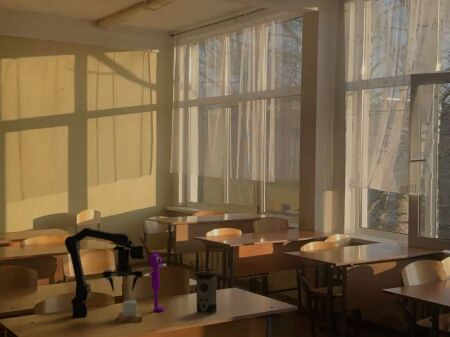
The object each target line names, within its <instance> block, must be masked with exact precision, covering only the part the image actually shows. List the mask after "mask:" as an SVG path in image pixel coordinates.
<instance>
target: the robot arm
mask: <svg viewBox="0 0 450 337" xmlns="http://www.w3.org/2000/svg"><path fill="white" fill-rule="evenodd" d="M87 237H88V238H89V237H90V238H95V239H99V240H103V241H109V242H111V243H114V244H115V247H114V248H113V249H112V250H113V251H116V252H117V258H116V259H117V261H116V262H117V264H116V266H117V267H116V271H113V270H112V269H105V270H104V271H103V275H102V277H103V278H105V280H108V282H109V284H110V286H111V290H112V292H115V286H114V276H117V277H119V278H122V277H124V278H127V277H128V276H133V281H132V287H131V291H132V292H134V288H135V286H136V283H137V281H138V279H141V278H142V277H143V275H144V273H143V270H142V269H134V271H133V269H132V268H133V266H132V265H130V258H131V259H132V260H145V258H146V251H145V245H143V244H142V245H135V244H134V243H133V242H132V239H131V236H130V234H128V233H127V232H109V231H106V230H100V229H96V228H91V227H85V228H83V229H82V230H80V231H78V232H77V233H75V234H72V235H70V236H67V237H66V238H65V239H64V245H65V248H66V250H67V252H68V253H69V256H70V259H71V260H70V261H71V265H72V269H73V273H74V274H73V275H74V277H75V278H74V280H75V296H74V298H72V300H70V302H71V305H72V316H71V318H86V317H87V315H88V305H87V300H88V299H89V298H90V297H91V294H92V288H91V283H87V281H86V279H85V273H84V268H83V263H82V258H81V253H80V251H81V241H83V240H84V239H85V238H87Z"/></svg>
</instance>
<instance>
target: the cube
mask: <svg viewBox="0 0 450 337" xmlns="http://www.w3.org/2000/svg"><path fill="white" fill-rule="evenodd" d="M137 303H138V302H137V300H135V299H134V300H132V299H131V300H130V299H129V300H123V306H122V307H123V311H122V312H123V316H136V314H137V312H138V310H137V308H138V307H137Z"/></svg>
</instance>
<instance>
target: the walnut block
mask: <svg viewBox="0 0 450 337" xmlns="http://www.w3.org/2000/svg"><path fill="white" fill-rule="evenodd" d="M139 322H140V323H142V322H143V311H137V314H136V316H123V311H122V312H118V317H117V323H118V324H120V323H139Z"/></svg>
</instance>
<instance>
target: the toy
mask: <svg viewBox="0 0 450 337" xmlns="http://www.w3.org/2000/svg"><path fill="white" fill-rule="evenodd" d="M148 264H149V266H150V267H151V268H153V269H152V270H151V271H150V272H147V273H145V274H143V275H142V277H148V276H149V278H151V288H152V291H154V292H153V296H154V297H153V298H154V299H153V300H154V301H153V303H154V304H153V305H154V308H153V312H155V313H156V312H157V313H163V312H164V311H165V307H163V306H159V305H158V304H159V300H158V299H159V297H158V296H159V295H158V291H159V290H160V287H161V281H160V280H161V277H160V270H159V269H161V268H163V267H166V268H167V267H168V266H167V263H164V260H163V258H162V256H161V255H160V254H158V250H155V252H151V255H150V256H149V258H148Z"/></svg>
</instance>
